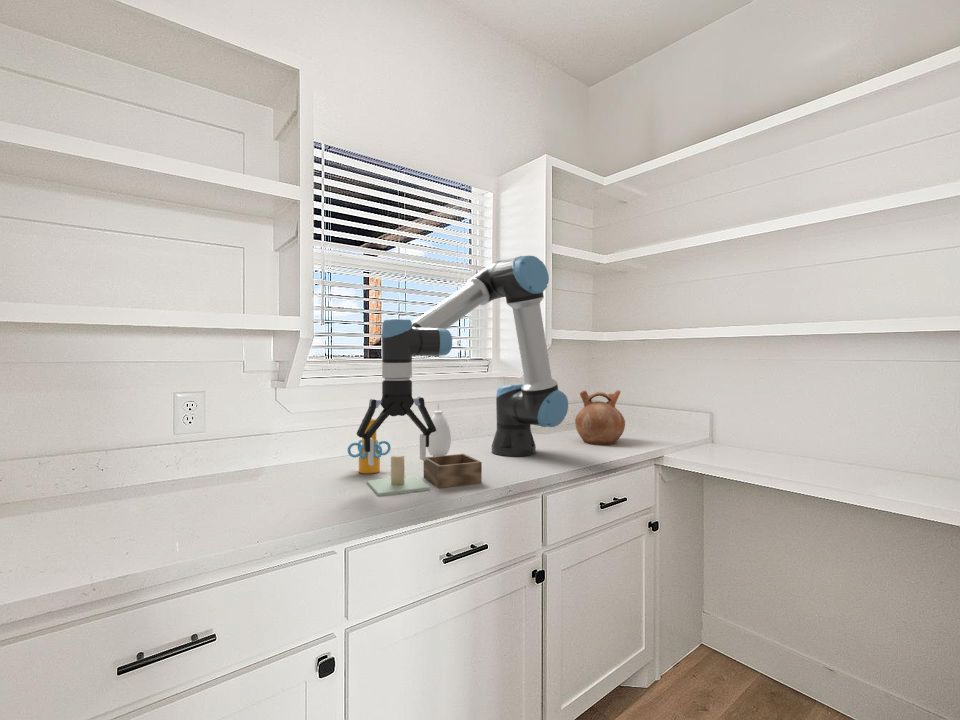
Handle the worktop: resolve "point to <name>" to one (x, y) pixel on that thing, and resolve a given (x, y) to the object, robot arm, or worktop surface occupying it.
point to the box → (452, 470)
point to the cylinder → (363, 455)
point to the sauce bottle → (439, 435)
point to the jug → (600, 419)
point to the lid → (397, 480)
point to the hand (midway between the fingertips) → (397, 462)
